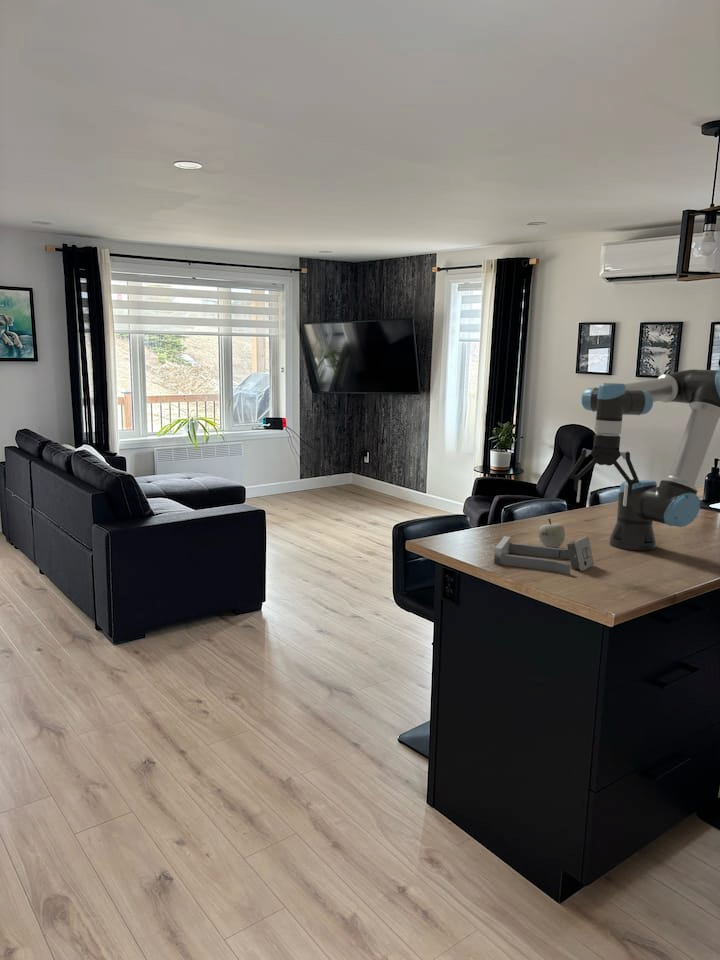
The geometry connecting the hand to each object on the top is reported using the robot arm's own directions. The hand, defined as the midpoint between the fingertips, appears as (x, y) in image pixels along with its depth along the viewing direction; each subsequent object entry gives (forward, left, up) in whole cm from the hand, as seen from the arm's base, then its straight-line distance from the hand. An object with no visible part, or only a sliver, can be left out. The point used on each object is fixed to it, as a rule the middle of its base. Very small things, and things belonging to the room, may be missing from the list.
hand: (601, 503), depth 217 cm
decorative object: (+15, -17, -20) cm, 31 cm away
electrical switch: (+4, +3, -20) cm, 21 cm away
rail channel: (+18, +3, -20) cm, 27 cm away
